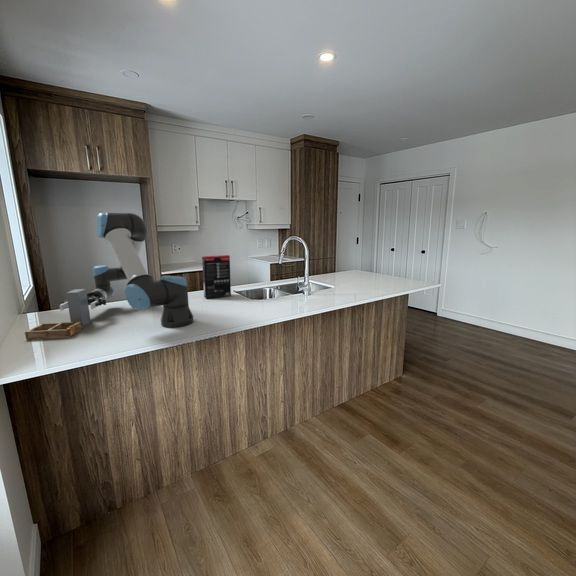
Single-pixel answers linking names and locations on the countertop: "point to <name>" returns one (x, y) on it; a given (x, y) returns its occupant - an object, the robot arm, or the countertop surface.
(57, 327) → the divided wooden tray
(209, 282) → the graphics card box
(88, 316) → the block
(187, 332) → the countertop surface
